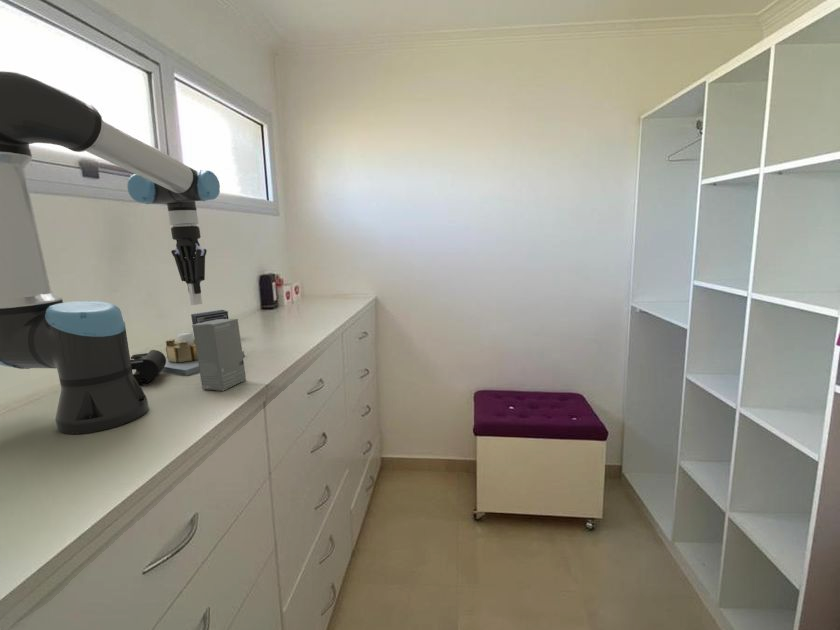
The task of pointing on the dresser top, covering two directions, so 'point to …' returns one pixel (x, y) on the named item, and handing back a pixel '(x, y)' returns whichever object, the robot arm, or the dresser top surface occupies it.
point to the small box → (209, 316)
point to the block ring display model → (185, 366)
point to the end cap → (147, 366)
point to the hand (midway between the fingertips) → (196, 304)
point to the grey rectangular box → (219, 353)
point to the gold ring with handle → (180, 351)
